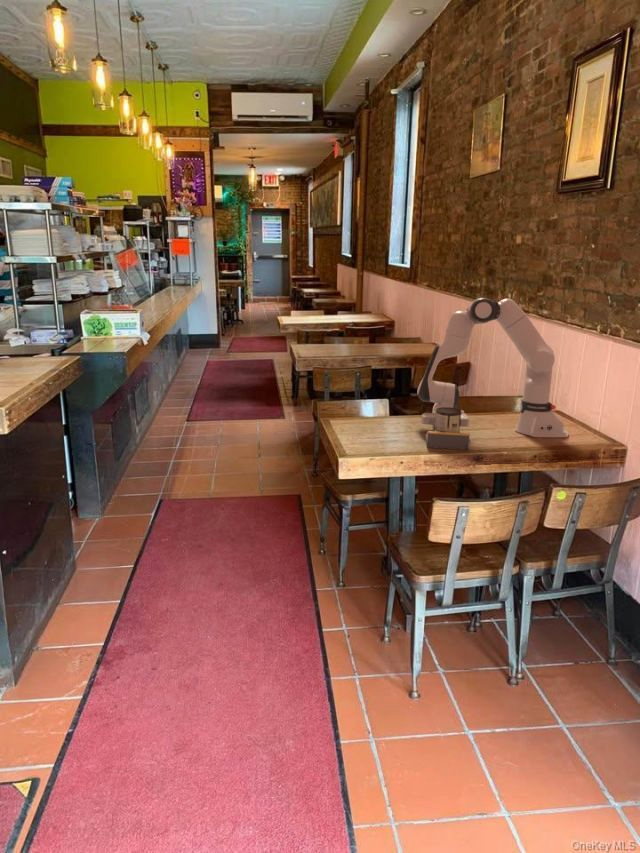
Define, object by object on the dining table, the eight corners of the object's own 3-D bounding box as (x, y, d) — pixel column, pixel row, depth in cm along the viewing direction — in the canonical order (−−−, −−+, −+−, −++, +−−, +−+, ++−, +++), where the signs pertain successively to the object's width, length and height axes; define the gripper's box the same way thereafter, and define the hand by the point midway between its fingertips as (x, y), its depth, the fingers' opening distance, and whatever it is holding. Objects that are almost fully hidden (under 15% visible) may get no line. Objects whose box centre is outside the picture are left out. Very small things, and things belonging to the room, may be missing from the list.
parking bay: (464, 440, 265) (466, 425, 263) (468, 450, 252) (469, 434, 250) (425, 438, 267) (426, 423, 265) (426, 447, 254) (428, 432, 252)
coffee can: (441, 437, 268) (444, 405, 264) (462, 442, 262) (466, 410, 258) (428, 442, 261) (431, 409, 257) (450, 448, 254) (453, 414, 250)
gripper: (420, 408, 278) (421, 415, 265) (467, 410, 276) (471, 418, 262) (419, 421, 280) (420, 430, 266) (466, 424, 277) (469, 433, 264)
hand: (446, 424), depth 264 cm, fingers closed, pressing on coffee can
